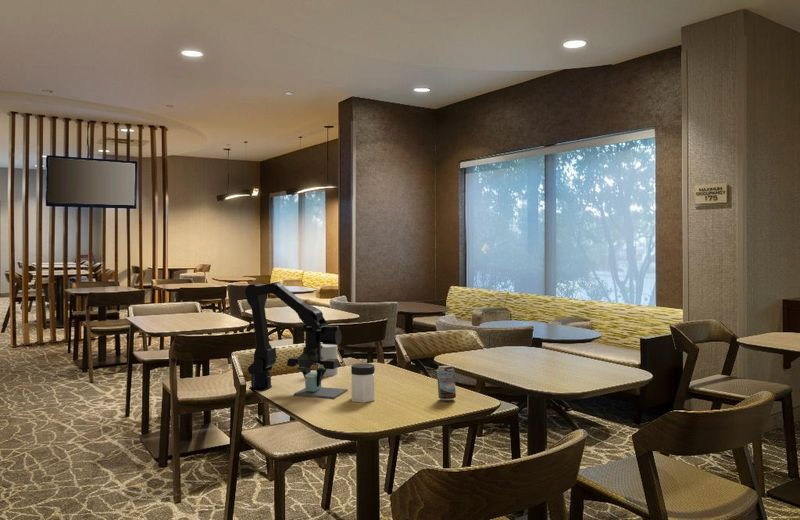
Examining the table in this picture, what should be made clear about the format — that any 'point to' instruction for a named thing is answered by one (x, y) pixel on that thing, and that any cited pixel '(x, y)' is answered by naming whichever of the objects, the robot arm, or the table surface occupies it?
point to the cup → (327, 353)
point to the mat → (322, 393)
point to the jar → (362, 382)
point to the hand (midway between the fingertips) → (313, 386)
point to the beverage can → (446, 382)
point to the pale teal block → (311, 382)
